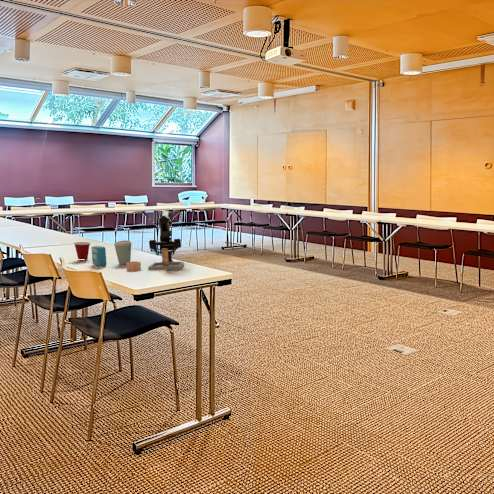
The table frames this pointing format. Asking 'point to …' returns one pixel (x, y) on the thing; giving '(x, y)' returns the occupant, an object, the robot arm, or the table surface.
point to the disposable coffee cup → (123, 251)
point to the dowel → (165, 257)
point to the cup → (133, 266)
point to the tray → (171, 266)
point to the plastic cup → (82, 249)
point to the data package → (99, 255)
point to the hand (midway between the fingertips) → (165, 255)
